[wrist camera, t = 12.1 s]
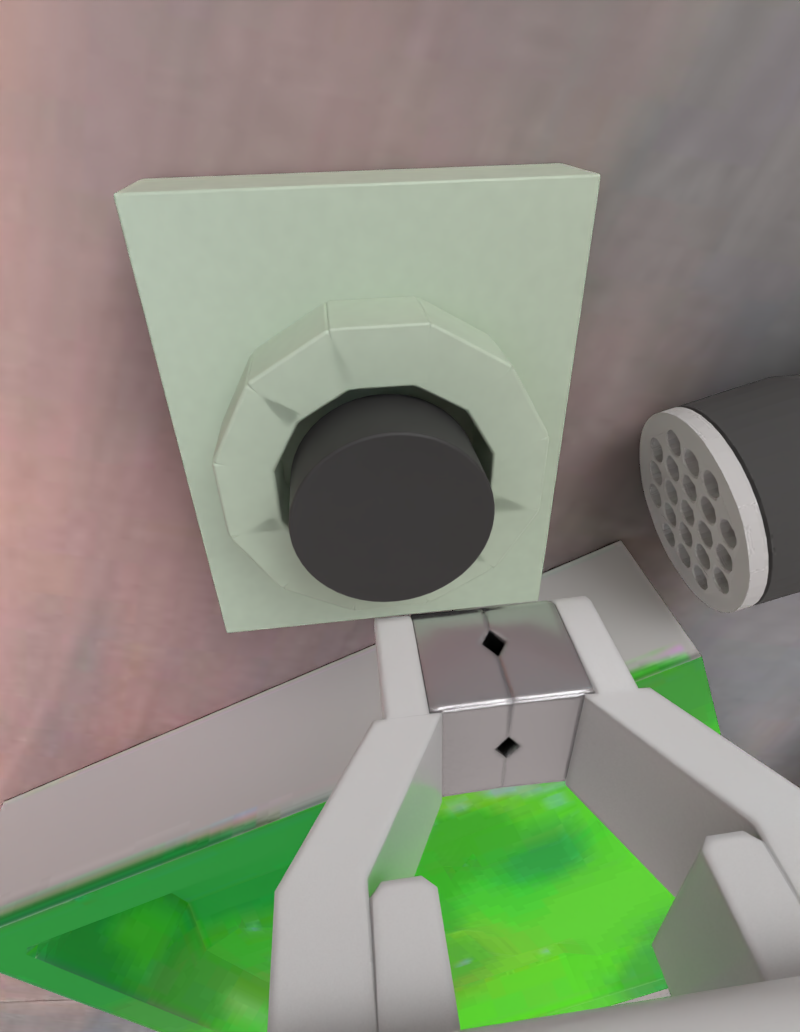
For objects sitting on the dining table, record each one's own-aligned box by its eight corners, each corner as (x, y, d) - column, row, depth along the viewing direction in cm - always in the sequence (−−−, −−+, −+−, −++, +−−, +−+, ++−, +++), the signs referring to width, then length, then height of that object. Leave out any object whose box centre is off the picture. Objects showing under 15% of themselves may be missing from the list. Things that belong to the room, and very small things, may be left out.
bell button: (278, 399, 12) (274, 441, 10) (480, 385, 12) (502, 424, 11) (301, 559, 14) (301, 612, 13) (471, 544, 15) (489, 593, 13)
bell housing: (139, 178, 13) (81, 209, 9) (562, 163, 13) (644, 186, 10) (233, 582, 19) (218, 685, 16) (517, 555, 20) (559, 647, 16)
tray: (718, 851, 34) (774, 955, 30) (321, 984, 38) (323, 1093, 34) (620, 540, 20) (701, 656, 16) (3, 801, 24) (-60, 950, 19)
